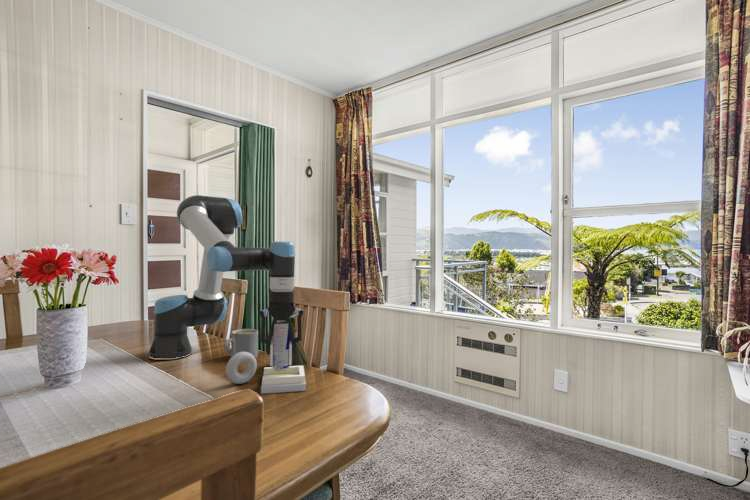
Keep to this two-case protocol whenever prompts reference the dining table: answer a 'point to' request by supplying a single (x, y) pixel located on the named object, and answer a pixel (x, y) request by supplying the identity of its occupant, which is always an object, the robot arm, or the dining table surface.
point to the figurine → (297, 348)
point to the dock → (283, 380)
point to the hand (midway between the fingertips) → (280, 363)
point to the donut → (233, 364)
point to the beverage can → (281, 346)
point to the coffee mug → (243, 342)
